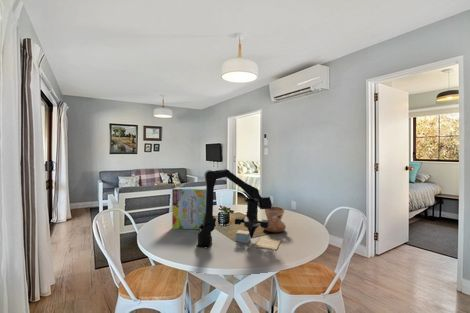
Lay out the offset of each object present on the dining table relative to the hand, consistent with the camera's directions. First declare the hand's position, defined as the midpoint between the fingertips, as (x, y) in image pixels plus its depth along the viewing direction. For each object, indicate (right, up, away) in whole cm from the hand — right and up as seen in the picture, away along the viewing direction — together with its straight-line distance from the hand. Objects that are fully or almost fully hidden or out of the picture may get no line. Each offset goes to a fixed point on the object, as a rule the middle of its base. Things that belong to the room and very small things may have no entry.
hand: (251, 237), depth 135 cm
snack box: (-38, -1, +23) cm, 45 cm away
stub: (-5, -2, +2) cm, 6 cm away
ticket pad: (+8, -3, -3) cm, 9 cm away
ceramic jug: (+16, -2, +20) cm, 25 cm away
